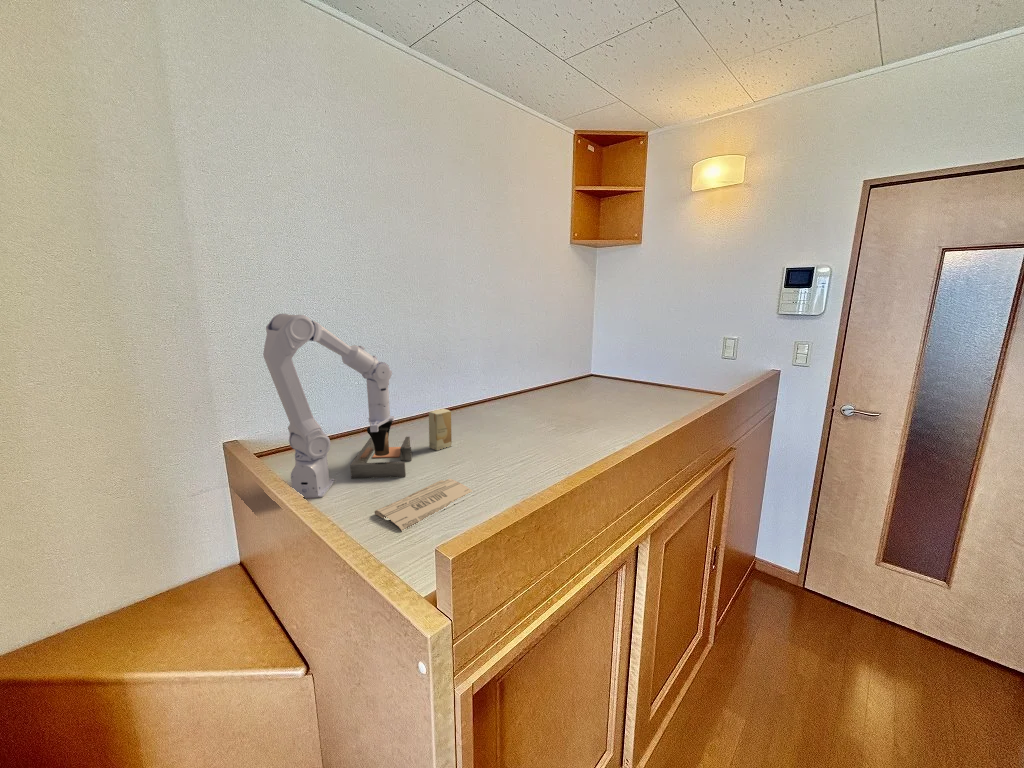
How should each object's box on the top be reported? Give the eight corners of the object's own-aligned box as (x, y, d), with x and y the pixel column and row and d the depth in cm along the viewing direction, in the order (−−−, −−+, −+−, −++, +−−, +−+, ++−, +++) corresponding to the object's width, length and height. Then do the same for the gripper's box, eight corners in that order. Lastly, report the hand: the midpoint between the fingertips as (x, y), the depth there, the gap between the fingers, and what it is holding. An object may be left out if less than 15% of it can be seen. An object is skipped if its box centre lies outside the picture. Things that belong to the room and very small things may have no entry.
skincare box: (437, 451, 129) (435, 414, 127) (428, 447, 132) (427, 411, 129) (452, 446, 134) (451, 410, 131) (444, 442, 137) (443, 407, 134)
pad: (399, 457, 124) (399, 456, 124) (372, 458, 123) (372, 456, 123) (403, 447, 132) (403, 446, 132) (378, 448, 131) (378, 447, 131)
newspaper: (444, 482, 109) (444, 473, 108) (475, 501, 102) (476, 492, 101) (366, 515, 92) (366, 505, 92) (397, 540, 85) (398, 530, 84)
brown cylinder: (387, 455, 117) (386, 435, 116) (373, 456, 116) (372, 436, 115) (390, 450, 121) (389, 431, 119) (376, 450, 120) (375, 431, 119)
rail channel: (405, 477, 111) (404, 463, 110) (351, 478, 109) (350, 465, 108) (415, 448, 132) (415, 436, 131) (371, 449, 130) (370, 437, 130)
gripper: (387, 409, 109) (390, 456, 111) (397, 396, 123) (400, 438, 126) (360, 409, 108) (364, 457, 111) (373, 396, 122) (376, 439, 125)
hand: (381, 447), depth 118 cm, fingers closed on brown cylinder, 4 cm apart
